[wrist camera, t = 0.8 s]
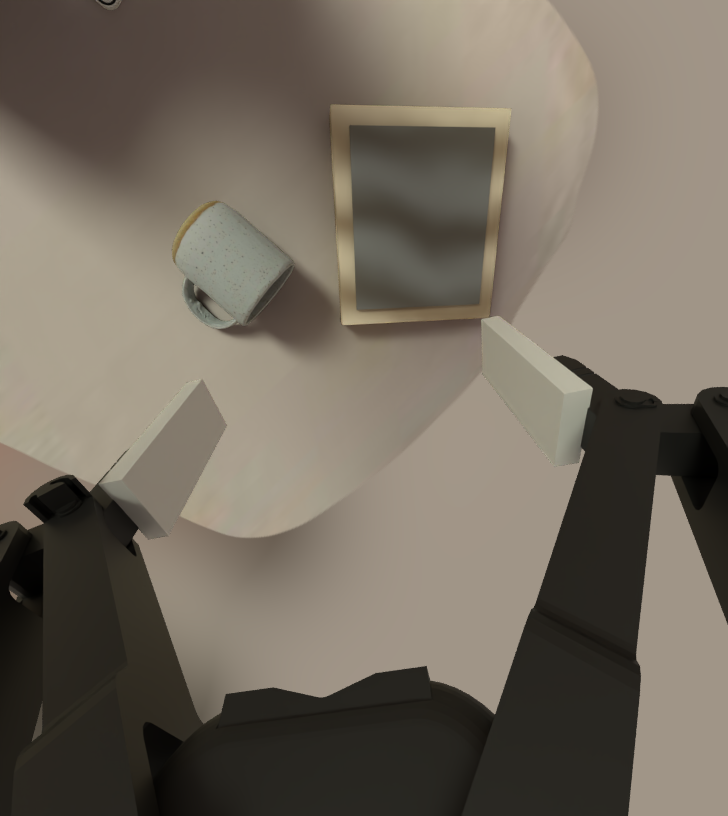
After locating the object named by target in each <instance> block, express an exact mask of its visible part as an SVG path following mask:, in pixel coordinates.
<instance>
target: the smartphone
mask: <svg viewBox="0 0 728 816" xmlns="http://www.w3.org/2000/svg"><path fill="white" fill-rule="evenodd" d="M95 1H97V2H98V3H99V4H100V5H101V6H102V7H103V8H105V9H108V10H115V9H116V8H118V6H119V5H120V3H121V1H122V0H95Z"/></svg>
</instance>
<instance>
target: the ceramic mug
mask: <svg viewBox="0 0 728 816" xmlns="http://www.w3.org/2000/svg"><path fill="white" fill-rule="evenodd" d="M172 257H173V261H174V263H175V264H176V266H177V267H178V268H179V269H180V270H181V272H182V273H183V274H184V275H185V278H184V281H183V285H182V294H183V298H184V301H185V303H186V305H187V307H188V308H189V310H190V311H191V312H192V313H193V315H194V316H195V317H196V318H197V319H199V320H200V321H201V322H202V323H204V324H205V325H207V326H209V327H212V328H216V329H224V328H228V327H231V326H233V325H235V324H236V323H237V322H239V323H240V324H241V325H243V326H246V325H248V324H249V323H250V322H251V321H252V320H254V319H255V317H257V316H258V315H259V314H260V312H261V311H262V310H263V309H264V308H265V307H266V306H267V305H268V303H269V302H270V301H271V300H272V299H273V298H274V296H275V295H276V294H277V292H278V291H279V290H280V289H281V287H282V286H283V285H284V283H285V282H286V280H287V279H288V277H289V276H290V274H291V273H292V271H293V268H294V262H293V260H291V259H290V258H289V257H288V256H287V255H286V254H284V253H283V252H282V251H281V250H280V249H279V248H278V247H277V246H276V245H274V244H273V243H272V242H271V241H270V240H269V239H268V238H267V237H266V236H264V235H263V234H262V233H261V232H260V231H258V230H257V229H256V228H255V227H254V226H253V225H252V224H251V223H249V222H248V221H247V220H246V219H245V218H244V217H243V216H242V215H241V214H239V213H238V212H237V211H236V210H234V209H232V208H231V207H229V206H228V205H227V204H225V203H223V202H219V201H212V202H208V203H205V204H203V205H201V206H200V207H199V208H197V209H196V210H195V211H194V212H193V213H192V214H191V215H190V216H189V217H188V218H187V219H186V221H185V222H184V223H183V225H182V226H181V228H180V230H179V231H178V233H177V235H176V238H175V240H174V243H173V246H172ZM194 284H195V285H196V286H197V287H199V288H200V289H201V290H203V291H204V292H205V293H206V294H207V295H208V296H209V297H211V298H212V299H213V300H214V301H215V302H216V303H217V304H218V305H219V306H220V307H222V308H223V309H224V310H225V311H226V312H227V313H228V314H230V315H231V316H232V317H233V318H234V319H233V320H230V321H222V320H219V319H217V318H215V317H214V316H213V315H212V314H211V313H210V312H209V311H207V310H206V309H205V308H204V307H203V306H202V304H201V302H199V301H198V300H197V299H196V297H195V293H194Z"/></svg>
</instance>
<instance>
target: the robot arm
mask: <svg viewBox="0 0 728 816" xmlns="http://www.w3.org/2000/svg"><path fill="white" fill-rule="evenodd" d="M481 331H482V374H483V375H484V377H485V378H486V379H487V381H488V382H489V383H490V385H491V386H492V387H493V388H494V390H495V391H496V392H497V394H498V395H499V396H500V398H501V399H502V400H503V401H504V403H505V404H506V405H507V407H508V408H509V409H510V410H511V412H512V413H513V414H514V415H515V417H516V418H517V419H518V421H519V422H520V423H521V425H522V426H523V427H524V429H525V430H526V431H527V433H528V434H529V435H530V436H531V438H532V439H533V440H534V441H535V443H536V444H537V445H538V447H539V448H540V449H541V451H542V452H543V453H544V454H545V456H546V457H547V458H548V460H549V461H550V462H551V464H552V465H553V466H554V467H557V466H562V465H568V464H574V463H579V459H580V453H581V449H584V451H585V454H584V457H583V460H582V463H581V466H580V469H579V472H578V475H577V478H576V481H575V484H574V488H573V491H572V494H571V497H570V500H569V503H568V506H567V509H566V512H565V515H564V518H563V521H562V524H561V527H560V531H559V533H558V537H557V540H556V543H555V546H554V549H553V552H552V555H551V558H550V561H549V564H548V567H547V570H546V573H545V577H544V579H543V583H542V586H541V589H540V592H539V595H538V598H537V601H536V604H535V606H534V608H533V609H531V612H530V614H529V616H528V619H527V621H526V624H525V627H524V630H523V633H522V636H521V639H520V642H519V645H518V648H517V651H516V654H515V657H514V660H513V663H512V666H511V669H510V672H509V675H508V678H507V681H506V684H505V687H504V690H503V693H502V696H501V699H500V702H499V705H498V708H497V711H496V714H493V713H492V712H491V711H490V710H489V709H488V708H486V707H485V706H484V705H483V704H482V703H480V702H479V701H477V700H476V699H474V698H473V697H472V696H470V695H469V694H467V693H465V692H463V691H461V690H459V689H457V688H455V687H452V686H449V685H447V684H444V683H440V682H435V681H430V678H429V675H428V670H427V666H425V667H418V668H410V669H402V670H396V671H389V672H382V673H375V674H373V675H371V676H369V677H367V678H365V679H363V680H361V681H359V682H356V683H354V684H352V685H350V686H348V687H346V688H344V689H342V690H340V691H338V692H336V693H333V694H332V695H330V696H327V697H323V698H319V697H314V696H309V695H305V694H300V693H296V692H291V691H287V690H282V689H278V688H267V689H259V690H252V691H245V692H238V693H231V694H226V696H225V700H224V704H223V708H222V712H221V713H220V714H219V715H217V716H215V717H214V718H213V719H211V720H209V721H208V722H206V723H205V724H203V723H202V722H201V720H200V719H199V717H198V715H197V713H196V710H195V708H194V705H193V702H192V699H191V696H190V693H189V690H188V688H187V685H186V682H185V679H184V676H183V673H182V670H181V667H180V664H179V661H178V658H177V656H176V652H175V650H174V647H173V644H172V641H171V638H170V635H169V632H168V629H167V626H166V623H165V621H164V618H163V615H162V612H161V609H160V606H159V603H158V600H157V597H156V594H155V592H154V589H153V586H152V583H151V580H150V577H149V574H148V571H147V568H146V565H145V562H144V559H143V557H142V554H141V551H140V548H139V545H138V544H137V543H136V542H135V541H134V540H133V536H134V535H135V533H136V531H137V530H138V529H139V530H140V531H141V532H142V533H143V534H144V535H145V537H146V538H147V539H154V538H160V537H165V536H169V534H170V532H171V530H172V528H173V527H174V525H175V523H176V521H177V519H178V517H179V515H180V513H181V512H182V510H183V508H184V506H185V504H186V502H187V500H188V498H189V496H190V495H191V493H192V491H193V489H194V487H195V485H196V483H197V481H198V479H199V477H200V476H201V474H202V472H203V470H204V468H205V466H206V464H207V462H208V460H209V459H210V457H211V455H212V453H213V451H214V449H215V447H216V445H217V443H218V442H219V440H220V438H221V436H222V434H223V432H224V430H225V428H226V426H227V424H226V423H225V421H224V419H223V417H222V415H221V413H220V411H219V409H218V407H217V406H216V404H215V402H214V400H213V398H212V396H211V394H210V392H209V391H208V389H207V387H206V385H205V383H204V381H203V379H200V380H195V381H191V382H187V383H186V384H185V385H184V386H183V388H182V389H181V390H180V391H179V392H178V393H177V394H176V396H175V397H174V398H173V399H172V400H171V401H170V402H169V404H168V405H167V406H166V407H165V408H164V409H163V410H162V412H161V413H160V414H159V415H158V416H157V417H156V419H155V420H154V421H153V422H152V423H151V424H150V425H149V427H148V428H147V429H146V430H145V431H144V432H143V433H142V435H141V436H140V437H139V438H138V439H137V440H136V442H135V443H134V444H133V445H132V446H131V447H130V448H129V449H128V450H127V451H125V453H124V454H123V455H122V456H121V457H120V458H119V459H118V461H117V463H115V464H114V465H113V466H112V467H111V470H109V471H108V472H107V473H106V474H105V475H104V476H103V478H102V479H101V480H100V481H99V482H98V483H97V484H96V486H95V487H94V488H93V489H92V490H91V491H90V492H89V491H88V490H87V489H86V488H85V487H84V486H83V485H82V484H81V483H80V482H79V481H78V480H77V479H76V478H75V477H74V475H65V476H61V477H58V478H56V479H54V480H51V481H50V482H47V483H46V484H44V485H42V486H41V487H39V488H38V489H37V490H35V491H34V492H33V493H31V495H30V496H29V497H28V498H27V499H26V500H25V502H24V504H23V505H24V506H25V507H27V508H28V509H29V510H30V511H31V512H32V513H33V514H34V515H36V516H37V517H38V518H39V519H40V520H41V521H42V522H43V523H44V524H42V525H39V526H37V527H34V528H32V529H29V530H27V529H25V528H24V527H23V526H22V525H21V524H19V523H18V522H17V521H11V522H7V523H4V524H1V525H0V816H628V811H629V800H630V790H631V780H632V769H633V758H634V748H635V738H636V728H637V717H638V707H639V696H640V682H641V673H640V666H639V664H638V662H637V661H636V648H637V639H638V629H639V621H640V612H641V603H642V594H643V585H644V575H645V567H646V558H647V549H648V540H649V531H650V521H651V513H652V504H653V495H654V486H655V477H656V475H668V476H671V477H672V480H673V482H674V485H675V488H676V490H677V493H678V495H679V498H680V501H681V503H682V506H683V508H684V511H685V514H686V516H687V519H688V522H689V524H690V527H691V529H692V532H693V535H694V537H695V540H696V542H697V545H698V548H699V550H700V553H701V556H702V558H703V561H704V563H705V566H706V569H707V571H708V574H709V577H710V579H711V582H712V584H713V587H714V590H715V592H716V595H717V597H718V600H719V603H720V605H721V608H722V611H723V613H724V616H725V618H726V621H727V623H728V387H714V388H708V389H704V390H702V391H701V392H700V393H699V394H698V395H697V397H696V400H695V402H694V404H662V401H661V400H660V399H658V398H657V397H656V396H654V395H651V394H649V393H647V392H642V391H638V390H630V389H629V390H628V389H621V390H618V389H617V388H615V387H614V386H613V385H611V384H610V383H608V382H607V381H606V380H604V379H603V378H601V377H600V376H599V375H597V374H594V372H593V371H591V370H590V369H589V368H586V366H584V365H583V364H582V363H580V362H579V361H577V360H575V359H572V358H569V357H566V356H563V355H562V356H557V357H552V356H551V355H549V354H548V353H547V352H545V351H544V350H543V349H541V348H540V347H539V346H538V345H536V344H535V343H534V342H532V341H531V340H530V339H528V338H527V337H526V336H524V335H523V334H522V333H521V332H519V331H518V330H517V329H515V328H514V327H513V326H512V325H510V324H509V323H508V322H506V321H505V320H504V319H503V318H501V317H500V316H494V317H490V318H485V319H481ZM9 590H10V591H11V592H13V593H15V594H16V595H17V596H18V597H17V600H15V599H14V598H13V597H12V596H11V594H10V591H9ZM42 700H43V715H42V717H43V718H42V720H43V721H42V725H43V726H42V734H41V735H40V736H38V737H37V738H36V739H35V740H34V741H32V738H33V734H34V730H35V726H36V723H37V719H38V715H39V711H40V707H41V704H42ZM31 741H32V742H31Z"/></svg>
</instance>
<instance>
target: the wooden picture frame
mask: <svg viewBox="0 0 728 816" xmlns="http://www.w3.org/2000/svg"><path fill="white" fill-rule="evenodd" d="M510 117H511V109H506V108H463V107H421V106H378V105H335V104H330V116H329V120H330V138H331V155H332V173H333V190H334V208H335V226H336V243H337V261H338V278H339V296H340V314H341V323H342V325H356V324H376V323H395V322H415V321H434V320H453V319H473V318H489V316H490V307H491V297H492V288H493V278H494V269H495V259H496V250H497V240H498V231H499V221H500V212H501V202H502V193H503V183H504V174H505V164H506V155H507V145H508V136H509V126H510Z"/></svg>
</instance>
